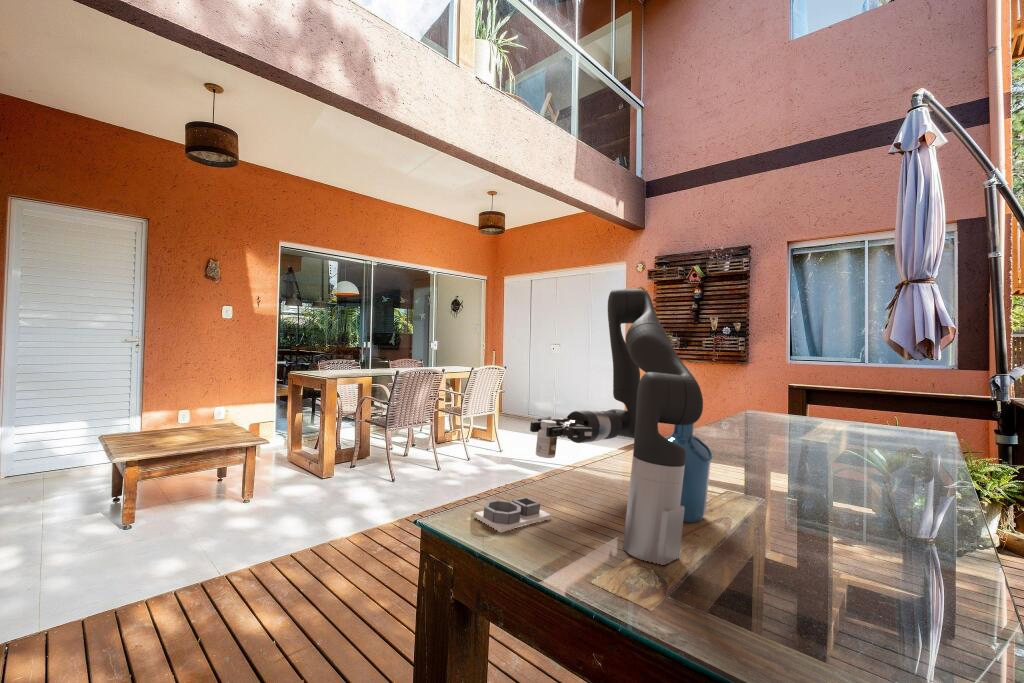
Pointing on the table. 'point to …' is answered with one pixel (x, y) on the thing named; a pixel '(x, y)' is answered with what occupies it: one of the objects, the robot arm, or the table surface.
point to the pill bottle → (546, 441)
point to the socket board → (511, 513)
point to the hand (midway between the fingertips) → (539, 429)
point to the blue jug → (693, 472)
